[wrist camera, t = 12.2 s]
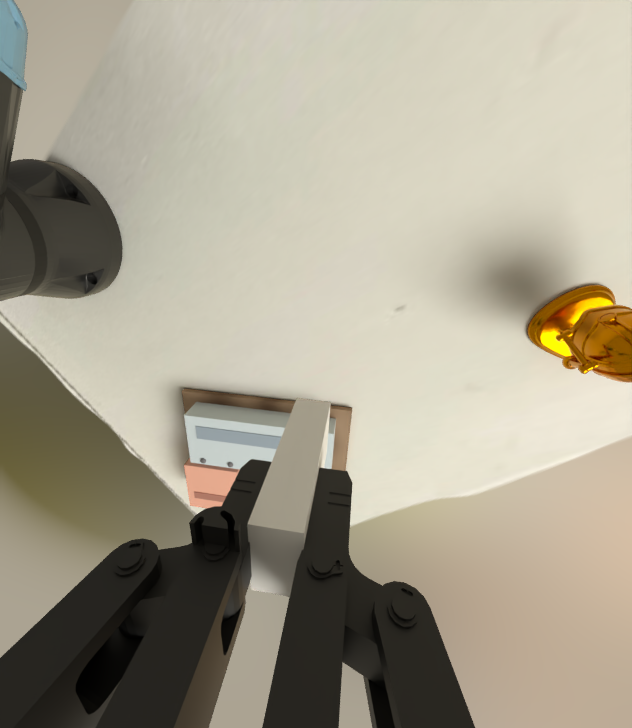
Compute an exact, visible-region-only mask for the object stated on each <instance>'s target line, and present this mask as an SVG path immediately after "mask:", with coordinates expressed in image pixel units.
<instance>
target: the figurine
mask: <svg viewBox="0 0 632 728" xmlns="http://www.w3.org/2000/svg"><path fill="white" fill-rule="evenodd" d="M527 333H528V336H529V338H530V340H531V341H532V342H533V343H534V344H535V345H536V346H538V347H539V348H541V349H543V350H545V351H546V352H548V353H550V354H553V355H555V356H557V357H559V358H562V359H563V361H562V364H563V366H564V367H565V368H567V369H575V368H578V370H579V371H580V372H581V373H583V374H586V373H587V372H589V371H593V372H594V373H596V374H598V375H601V376H604V377H606V378H609V379H611V380H615V381H620V382H632V309H631V308H629V307H626V306H623V305H616V303H615V297H614V295H613V293H612V291H611V290H610V289H609V288H607V287H605V286H602V285H588V286H583V287H580V288H577V289H574V290H571V291H569V292H567V293H565V294H563V295H561V296H559V297H557V298H556V299H554V300H553V301H551V302H550V303H548V304H547V305H545V306H544V307H543V308H542V309H541V310H540V311H539V312H538V313H537V314H536V315H535V316H534V317H533V318H532V320H531V321H530V323H529V325H528V329H527Z"/></svg>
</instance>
